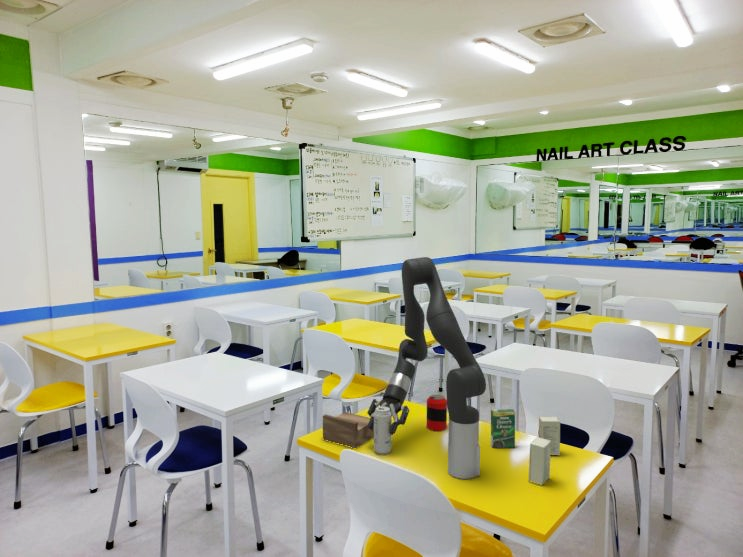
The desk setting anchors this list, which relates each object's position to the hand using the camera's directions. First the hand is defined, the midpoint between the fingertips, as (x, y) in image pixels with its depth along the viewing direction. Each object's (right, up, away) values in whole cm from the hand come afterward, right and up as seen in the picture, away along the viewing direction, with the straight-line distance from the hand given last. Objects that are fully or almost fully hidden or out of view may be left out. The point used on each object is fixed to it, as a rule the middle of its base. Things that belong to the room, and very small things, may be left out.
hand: (380, 431), depth 173 cm
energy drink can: (+1, -8, +2) cm, 8 cm away
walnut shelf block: (-11, -6, +13) cm, 18 cm away
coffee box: (+43, -7, +6) cm, 44 cm away
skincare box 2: (+48, -10, -18) cm, 52 cm away
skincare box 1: (+57, -8, +1) cm, 57 cm away
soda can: (+22, -6, +23) cm, 32 cm away
